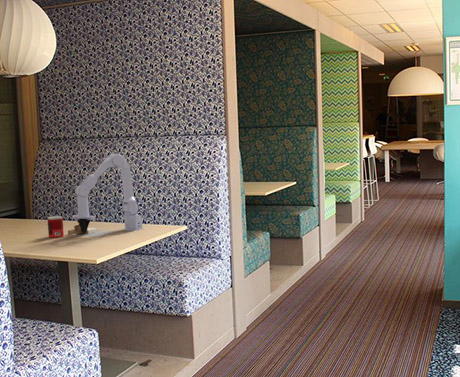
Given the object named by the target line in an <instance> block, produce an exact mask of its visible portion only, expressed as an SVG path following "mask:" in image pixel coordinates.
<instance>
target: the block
mask: <svg viewBox="0 0 460 377" xmlns="http://www.w3.org/2000/svg"><path fill="white" fill-rule="evenodd" d="M73 229H75V232H76V235H78V234H82V233H83V232H82V229H81V227H80V225H79V224H76V225H74V226H73Z"/></svg>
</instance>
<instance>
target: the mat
mask: <svg viewBox="0 0 460 377" xmlns="http://www.w3.org/2000/svg"><path fill="white" fill-rule="evenodd" d="M115 232H116V231H115V230H101V229H100V230H99V229H97V232H94V233H90V234H83V233H82V234H78V235H76V234H73V235H72V236H77V237H87V238H88V237H89V238H90V237H91V238H97V237H101V236H105V235H108V234H112V233H115Z"/></svg>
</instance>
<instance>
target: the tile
mask: <svg viewBox="0 0 460 377" xmlns="http://www.w3.org/2000/svg"><path fill="white" fill-rule="evenodd" d="M97 230H98V228H96V227H95V228H94V227H88V228H87V232H86V233H83V234H90V233H94V232H97Z"/></svg>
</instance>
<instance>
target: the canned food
mask: <svg viewBox="0 0 460 377" xmlns="http://www.w3.org/2000/svg"><path fill="white" fill-rule="evenodd" d="M47 227H48V228H47V229H48V232H47V233H48V238H49V239H58V238H63V237H64V236H65V235H64V218H63V216H61V215H56V216H48V217H47Z"/></svg>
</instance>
